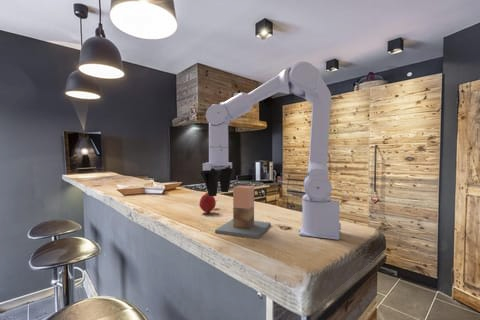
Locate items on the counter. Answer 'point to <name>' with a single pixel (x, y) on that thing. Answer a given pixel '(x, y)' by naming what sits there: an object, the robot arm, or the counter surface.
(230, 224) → the slate board
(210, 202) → the onion
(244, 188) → the terracotta block
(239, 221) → the walnut block
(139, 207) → the counter surface
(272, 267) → the counter surface
